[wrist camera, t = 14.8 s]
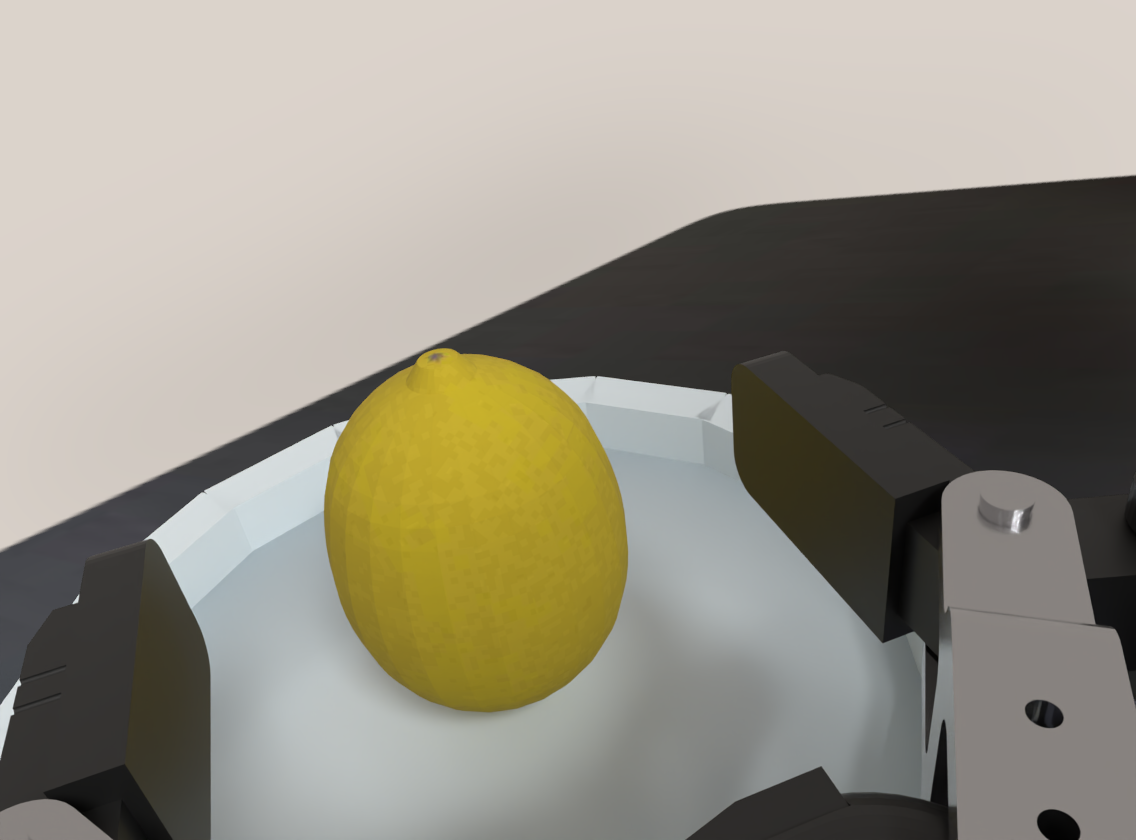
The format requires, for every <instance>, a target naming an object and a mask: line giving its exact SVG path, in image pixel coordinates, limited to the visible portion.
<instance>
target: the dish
mask: <svg viewBox="0 0 1136 840" xmlns="http://www.w3.org/2000/svg"><path fill="white" fill-rule="evenodd" d="M550 381H552V382H553V383H554V384H555V385H557V386H558V387H559V388H560V389H561V390H563V391H564V392H565V393H566V394H567V395H568V396H569V397H570V398H571V399H572V400H573V401H574V402H575V403H576V404H577V405H578V406H579V407H580V409H581V410H582V412H583V413H584V414H585V416H586V417H587V419H588V420H589V422H590V424H591V426H592V428H593V430H594V431H595V433H596V435H597V437H598V439H599V441H600V443H601V444H602V446H603V448H604V450H605V452H606V454H607V457H608V459H609V461H610V463H611V465H612V468H613V471H614V474H615V476H616V479H617V482H618V486H619V489H620V493H621V496H622V501H623V507H624V512H625V522H626V532H627V543H628V571H627V579H626V584H625V588H624V593H623V597H622V600H621V604H620V608H619V612H618V616H617V619H616V622H615V624H614V626H613V629H612V631H611V632H610V634H609V636H608V637H607V639H606V640H605V642H604V644H603V645H602V647H601V648H600V650H599V651H598V653H597V655H596V656H595V657H594V659H593V660H592V662H591V663H590V664H589V665H588V666H587V667H586V668H585V669H583V670H582V671H581V672H580V673H579V674H578V675H577V676H576V677H575V678H574V679H573V680H572V681H571V682H570V683H568V684H567V685H566V686H564V687H563V688H561V689H559V690H558V691H556V692H555V693H553V694H551V695H550V696H548V697H546V698H545V699H543V700H540V701H537V702H534V703H532V704H529V705H526V706H523V707H520V708H518V709H511V710H504V711H497V712H491V713H489V712H473V711H461V710H455V709H452V708H449V707H446V706H443V705H439V704H436V703H433V702H430V701H428V700H426V699H424V698H422V697H420V696H418V695H417V694H415V693H414V692H412V691H410V690H409V689H407V688H406V687H404V686H403V685H401V684H400V683H398V682H397V681H396V680H394V679H393V678H392V677H391V676H389V675H388V674H387V673H386V672H385V671H384V670H383V668H382V667H381V666H380V665H379V664H378V663H377V661H376V660H375V659H374V658H373V656H372V655H371V654H370V652H369V651H368V650H367V649H366V647H365V646H364V645H363V644H362V642H361V641H360V639H359V638H358V636H357V635H356V633H355V632H354V630H353V628H352V627H351V625H350V623H349V621H348V619H347V617H346V615H345V612H344V610H343V607H342V605H341V603H340V599H339V596H338V592H337V589H336V585H335V582H334V578H333V574H332V570H331V567H330V563H329V558H328V553H327V548H326V539H325V529H324V496H325V489H326V483H327V477H328V471H329V465H330V459H331V456H332V453H333V450H334V447H335V445H336V442H337V440H338V439H339V437H340V435H341V433H342V431H343V430H344V428H345V426H346V424H347V423H348V421H349V420H348V421H345V422H341V423H338V424H334V427H333V426H330V427H328V428H326V429H324V430H322V431H320V432H318V433H316V434H314V435H312V436H310V437H308V438H306V439H304V440H302V441H300V442H298V443H297V444H295V445H293V446H291V447H289V448H287V449H285V450H283V451H281V452H279V453H277V454H275V455H273V456H271V457H269V458H267V459H265V460H263V461H262V462H260V463H258V464H256V465H254V466H252V467H250V468H248V469H246V470H244V471H242V472H240V473H238V474H236V475H234V476H232V477H230V478H228V479H226V480H225V481H223V482H221V483H219V484H217V485H215V486H213V487H211V488H209V489H207V490H205V491H204V492H205V493H201V494H199V495H198V496H197V497H196V498H195V499H193V500H192V501H191V502H190V503H188V504H187V505H186V506H185V507H184V508H182V509H181V510H180V511H179V512H178V513H176V514H175V515H174V516H173V517H172V518H170V519H169V520H168V521H167V522H165V523H164V524H163V525H162V526H161V527H159V528H158V529H157V530H156V531H155V532H153V533H152V534H151V535H150V536H149V537H147V538H146V539H145V540H148V539H153V540H154V541H155V542H156V543H157V544H158V545H159V547H160V548H161V550H162V552H163V554H164V556H165V558H166V560H167V562H168V564H169V566H170V568H171V570H172V572H173V574H174V576H175V578H176V580H177V582H178V584H179V586H180V588H181V590H182V592H183V594H184V596H185V598H186V600H187V602H188V604H189V606H190V608H191V610H192V612H193V614H194V616H195V618H196V620H197V622H198V624H199V626H200V629H201V631H202V634H203V637H204V640H205V644H206V647H207V652H208V656H209V662H210V674H211V840H686V839H687V838H688V837H690V836H691V835H692V834H694V833H695V832H696V831H697V830H699V829H700V828H701V827H703V826H704V825H705V824H707V823H708V822H709V821H710V820H712V819H713V818H714V817H716V816H717V815H718V814H720V813H721V812H722V811H723V810H725V809H726V808H727V807H729V806H730V805H731V804H733V803H734V802H735V801H738V800H740V799H743V798H745V797H747V796H750V795H752V794H755V793H757V792H760V791H762V790H764V789H767V788H769V787H772V786H774V785H777V784H779V783H781V782H784V781H786V780H789V779H791V778H794V777H796V776H798V775H801V774H803V773H806V772H808V771H811V770H813V769H815V768H818V767H820V766H822V768H823V769H824V770H825V772H826V773H827V775H828V776H829V778H830V779H831V780H832V782H833V783H834V785H835V786H836V788H837V789H838V790H839V792H840V793H841V794H842V793H850V792H880V793H890V794H900V795H905V796H909V797H914V798H919V799H920V796H921V773H922V656H923V648H924V641H923V640H922V639H921V638H920V637H919V636H918V635H917V634H916V633H915V632H911V633H909V634H906V635H903V636H901V637H898V638H896V639H893V640H890V641H888V642H885V643H882V642H881V641H880V640H879V639H878V638H877V637H876V635H875V634H874V633H873V632H872V631H871V630H870V629H869V628H868V627H867V625H866V624H865V623H864V622H863V621H862V620H861V619H860V618H859V616H858V615H857V614H856V613H855V612H854V611H853V610H852V609H851V607H850V606H849V605H848V604H847V603H846V602H845V601H844V600H843V599H842V597H841V596H840V595H839V594H838V593H837V592H836V591H835V590H834V588H833V587H832V586H831V585H830V584H829V583H828V582H827V581H826V580H825V578H824V577H823V576H822V575H821V574H820V573H819V572H818V571H817V569H816V568H815V567H814V566H813V565H812V564H811V563H810V562H809V561H808V559H807V558H806V557H805V556H804V555H803V554H802V553H801V552H800V550H799V549H798V548H797V547H796V546H795V545H794V544H793V543H792V542H791V540H790V539H789V538H788V537H787V536H786V535H785V534H784V533H783V531H782V530H781V529H780V528H779V527H778V526H777V525H776V524H775V522H774V521H773V520H772V519H771V518H770V517H769V516H768V515H767V514H766V512H765V511H764V510H763V509H762V508H761V507H760V506H759V505H758V503H757V502H756V501H755V500H754V499H753V498H752V497H751V496H750V494H749V493H748V492H747V490H746V489H745V487H744V485H743V483H742V481H741V479H740V476H739V474H738V471H737V468H736V464H735V458H734V445H733V417H732V395H731V394H728V395H726V393H722V392H715V391H707V390H699V389H692V388H684V387H676V386H669V385H661V384H653V383H645V382H638V381H630V380H622V379H615V378H607V377H599V376H597V378H596V379H595V376H592V377H580V378H568V379H556V380H550ZM78 600H79V595H78V597H77V598H76V600H75V601H74V602H73V604H75V603H78ZM19 679H20V678H19ZM18 686H21V683H20V680H18V681H17V683H16V684H15V686H14V687H13V688H12V690H11V691H10V693H9V694H8V695H7V697H6V698H5V700H4V701H3V702H2V704H1V705H0V758H1V754H2V750H3V746H4V741H5V737H6V733H7V729H8V725H9V721H10V717H11V715H14V710H13V704H14V700H15V696H16V692H17V687H18Z"/></svg>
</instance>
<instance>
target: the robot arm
mask: <svg viewBox="0 0 1136 840" xmlns="http://www.w3.org/2000/svg"><path fill="white" fill-rule="evenodd" d="M731 390H732V417H733V445H734V458H735V464H736V468H737V471H738V474H739V476H740V479H741V481H742V483H743V485H744V487H745V489H746V490H747V492H748V493H749V494H750V496H751V497H752V498H753V499H754V500H755V501H756V502H757V503H758V505H759V506H760V507H761V508H762V509H763V510H764V511H765V512H766V514H767V515H768V516H769V517H770V518H771V519H772V520H773V521H774V522H775V524H776V525H777V526H778V527H779V528H780V529H781V530H782V531H783V533H784V534H785V535H786V536H787V537H788V538H789V539H790V540H791V542H792V543H793V544H794V545H795V546H796V547H797V548H798V549H799V550H800V552H801V553H802V554H803V555H804V556H805V557H806V558H807V559H808V561H809V562H810V563H811V564H812V565H813V566H814V567H815V568H816V569H817V571H818V572H819V573H820V574H821V575H822V576H823V577H824V578H825V580H826V581H827V582H828V583H829V584H830V585H831V586H832V587H833V588H834V590H835V591H836V592H837V593H838V594H839V595H840V596H841V597H842V599H843V600H844V601H845V602H846V603H847V604H848V605H849V606H850V607H851V609H852V610H853V611H854V612H855V613H856V614H857V615H858V616H859V618H860V619H861V620H862V621H863V622H864V623H865V624H866V625H867V627H868V628H869V629H870V630H871V631H872V632H873V633H874V634H875V635H876V637H877V638H878V639H879V640H880V641H881V642H882V643H885V642H888V641H890V640H893V639H896V638H898V637H901V636H903V635H906V634H909V633H911V632H915V633H916V634H917V635H918V636H919V637H920V638H921V639H922V640H923V641H924V648H923V656H922V773H921V796H920V799H919V798H914V797H909V796H905V795H900V794H890V793H880V792H850V793H842V794H841V793H840V792H839V790H838V789H837V788H836V786H835V785H834V783H833V782H832V780H831V779H830V778H829V776H828V775H827V773H826V772H825V770H824V769H823V768H822V766H820V767H818V768H815V769H813V770H811V771H808V772H806V773H803V774H801V775H798V776H796V777H794V778H791V779H789V780H786V781H784V782H781V783H779V784H777V785H774V786H772V787H769V788H767V789H764V790H762V791H760V792H757V793H755V794H752V795H750V796H747V797H745V798H743V799H740V800H738V801H735V802H734V803H733V804H731V805H730V806H729V807H727V808H726V809H725V810H723V811H722V812H721V813H720V814H718V815H717V816H716V817H714V818H713V819H712V820H710V821H709V822H708V823H707V824H705V825H704V826H703V827H701V828H700V829H699V830H697V831H696V832H695V833H694V834H692V835H691V836H690V837H688V838H687V839H686V840H1136V708H1135V703H1134V699H1135V700H1136V471H1135V473H1134V477H1133V481H1132V485H1131V489H1130V492H1129V494H1122V495H1110V496H1099V497H1088V498H1077V499H1066V498H1065V497H1064V496H1063V495H1062V494H1061V493H1060V492H1059V491H1057V490H1056V489H1055V488H1053V487H1052V486H1050V485H1048V484H1047V483H1045V482H1043V481H1041V480H1038V479H1036V478H1033V477H1030V476H1027V475H1024V474H1020V473H1015V472H1009V471H997V470H989V471H978V472H975V471H974V470H973V469H971V468H970V467H969V466H967V465H966V464H965V463H963V462H962V461H961V460H959V459H958V458H957V457H955V456H954V455H953V454H952V453H950V452H949V451H948V450H946V449H945V448H944V447H942V446H941V445H940V444H938V443H937V442H936V441H934V440H933V439H932V438H930V437H929V436H928V435H926V434H925V433H924V432H923V431H921V430H920V429H919V428H917V427H916V426H915V425H913V424H912V423H911V422H910V423H906V420H905V418H904V417H903V416H901V415H900V414H899V413H897V412H896V411H895V410H894V409H892V408H891V407H889V408H887V407H886V403H884V402H883V401H882V400H880V399H879V398H878V397H876V396H875V395H874V394H872V393H871V392H870V391H868V390H867V389H866V388H865V387H863V386H862V385H860V384H857V383H854V382H851V381H849V380H846V379H843V378H840V377H837V376H835V375H832V374H829V373H826V374H823V375H820V376H819V375H817V374H816V373H815V372H814V371H812V370H811V369H810V368H809V367H807V366H806V365H805V364H804V363H802V362H801V361H800V360H799V359H797V358H796V357H795V356H794V355H792V354H791V353H789V352H787V351H781V352H778V353H775V354H771V355H768V356H765V357H761V358H758V359H755V360H751V361H748V362H745V363H741V364H738V365H736V366H735V367H734V369H733V372H732V377H731ZM19 680H20V683H21V686H18V687H17V692H16V696H15V700H14V704H13V710H14V715H11V717H10V721H9V725H8V729H7V733H6V737H5V741H4V746H3V750H2V754H1V758H0V840H211V674H210V662H209V656H208V652H207V647H206V644H205V640H204V637H203V634H202V631H201V629H200V626H199V624H198V622H197V620H196V618H195V616H194V614H193V612H192V610H191V608H190V606H189V604H188V602H187V600H186V598H185V596H184V594H183V592H182V590H181V588H180V586H179V584H178V582H177V580H176V578H175V576H174V574H173V572H172V570H171V568H170V566H169V564H168V562H167V560H166V558H165V556H164V554H163V552H162V550H161V548H160V547H159V545H158V544H157V543H156V542H155V541H154V540H153V539H148V540H144V541H141V542H138V543H134V544H131V545H128V546H124V547H121V548H117V549H114V550H111V551H107V552H104V553H101V554H97V555H94V556H91V557H89V558H88V559H87V560H86V563H85V567H84V573H83V578H82V583H81V589H80V594H79V600H78V603H75V604H71V605H68V606H65V607H62V608H58V609H55V610H53V611H52V612H51V614H50V615H49V616H48V618H47V619H46V621H45V622H44V623H43V625H42V626H41V628H40V629H39V630H38V632H37V633H36V635H35V636H34V637H33V639H32V640H31V641H30V643H29V644H28V646H27V650H26V654H25V658H24V663H23V667H22V671H21V675H20V679H19ZM1133 698H1134V699H1133Z"/></svg>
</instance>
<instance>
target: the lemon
mask: <svg viewBox="0 0 1136 840" xmlns="http://www.w3.org/2000/svg"><path fill="white" fill-rule="evenodd" d="M324 529H325V539H326V548H327V553H328V558H329V563H330V567H331V570H332V574H333V578H334V582H335V585H336V589H337V592H338V596H339V599H340V603H341V605H342V607H343V610H344V612H345V615H346V617H347V619H348V621H349V623H350V625H351V627H352V628H353V630H354V632H355V633H356V635H357V636H358V638H359V639H360V641H361V642H362V644H363V645H364V646H365V647H366V649H367V650H368V651H369V652H370V654H371V655H372V656H373V658H374V659H375V660H376V661H377V663H378V664H379V665H380V666H381V667H382V668H383V670H384V671H385V672H386V673H387V674H388V675H389V676H391V677H392V678H393V679H394V680H396V681H397V682H398V683H400V684H401V685H403V686H404V687H406V688H407V689H409V690H410V691H412V692H414V693H415V694H417V695H418V696H420V697H422V698H424V699H426V700H428V701H430V702H433V703H436V704H439V705H443V706H446V707H449V708H452V709H455V710H461V711H473V712H489V713H491V712H497V711H504V710H511V709H518V708H520V707H523V706H526V705H529V704H532V703H534V702H537V701H540V700H543V699H545V698H546V697H548V696H550V695H551V694H553V693H555V692H556V691H558V690H559V689H561V688H563V687H564V686H566V685H567V684H568V683H570V682H571V681H572V680H573V679H574V678H575V677H576V676H577V675H578V674H579V673H580V672H581V671H582V670H583V669H585V668H586V667H587V666H588V665H589V664H590V663H591V662H592V660H593V659H594V657H595V656H596V655H597V653H598V651H599V650H600V648H601V647H602V645H603V644H604V642H605V640H606V639H607V637H608V636H609V634H610V632H611V631H612V629H613V626H614V624H615V622H616V619H617V616H618V612H619V608H620V604H621V600H622V597H623V593H624V588H625V584H626V579H627V571H628V543H627V532H626V522H625V512H624V507H623V501H622V496H621V493H620V489H619V486H618V482H617V479H616V476H615V474H614V471H613V468H612V465H611V463H610V461H609V459H608V457H607V454H606V452H605V450H604V448H603V446H602V444H601V443H600V441H599V439H598V437H597V435H596V433H595V431H594V430H593V428H592V426H591V424H590V422H589V420H588V419H587V417H586V416H585V414H584V413H583V412H582V410H581V409H580V407H579V406H578V405H577V404H576V403H575V402H574V401H573V400H572V399H571V398H570V397H569V396H568V395H567V394H566V393H565V392H564V391H563V390H561V389H560V388H559V387H558V386H557V385H555V384H554V383H553V382H552V381H550V380H549V379H547V378H546V377H544V376H542V375H541V374H539V373H537V372H535V371H533V370H530V369H528V368H526V367H524V366H521V365H519V364H516V363H514V362H512V361H509V360H505V359H500V358H496V357H491V356H486V355H478V354H459V353H458V352H456V351H454V350H452V349H436V350H432V351H429V352H427V353H425V354H423V355H422V356H420V357H419V359H418V360H417V362H416V363H415V365H413V366H411V367H409V368H407V369H404V370H402V371H400V372H398V373H397V374H395V375H394V376H393V377H391V378H390V379H388V380H387V381H385V382H384V383H383V384H381V385H380V386H379V387H378V388H376V389H375V390H374V391H373V392H372V393H371V394H370V395H369V396H368V397H367V398H366V399H365V400H364V401H363V403H362V404H361V405H360V406H359V407H358V408H357V409H356V411H355V412H354V413H353V415H352V416H351V418H350V420H349V421H348V423H347V424H346V426H345V428H344V430H343V431H342V433H341V435H340V437H339V439H338V440H337V442H336V445H335V447H334V450H333V453H332V456H331V459H330V465H329V471H328V477H327V483H326V489H325V496H324Z"/></svg>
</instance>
